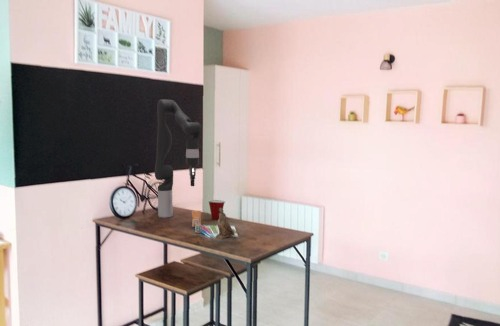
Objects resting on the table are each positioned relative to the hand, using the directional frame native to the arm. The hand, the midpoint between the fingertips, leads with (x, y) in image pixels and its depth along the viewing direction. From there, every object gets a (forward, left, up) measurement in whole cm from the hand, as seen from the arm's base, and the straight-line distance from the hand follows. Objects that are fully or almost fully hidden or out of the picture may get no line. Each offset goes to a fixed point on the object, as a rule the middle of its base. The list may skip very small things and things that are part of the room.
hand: (192, 186), depth 250 cm
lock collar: (+4, +2, -23) cm, 24 cm away
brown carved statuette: (+26, +16, -24) cm, 39 cm away
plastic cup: (-15, +16, -24) cm, 32 cm away
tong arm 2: (+9, +3, -23) cm, 25 cm away
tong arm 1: (+9, +1, -23) cm, 25 cm away
